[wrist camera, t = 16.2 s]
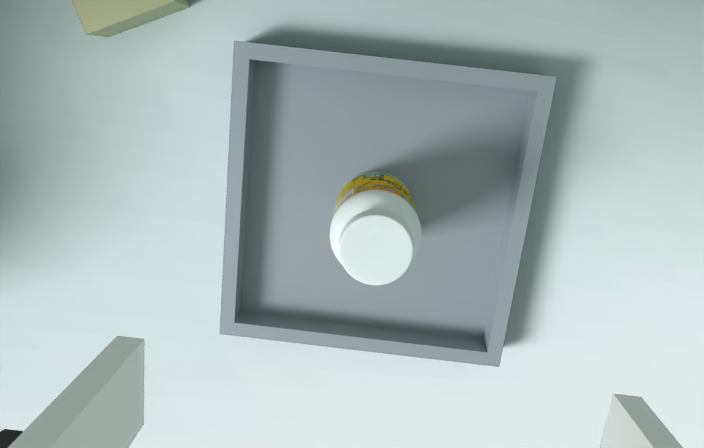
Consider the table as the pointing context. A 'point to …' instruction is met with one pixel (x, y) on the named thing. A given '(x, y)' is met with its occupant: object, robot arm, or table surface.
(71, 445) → the robot arm
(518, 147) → the slate tray
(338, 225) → the supplement bottle
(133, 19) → the olive brick
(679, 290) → the table surface
